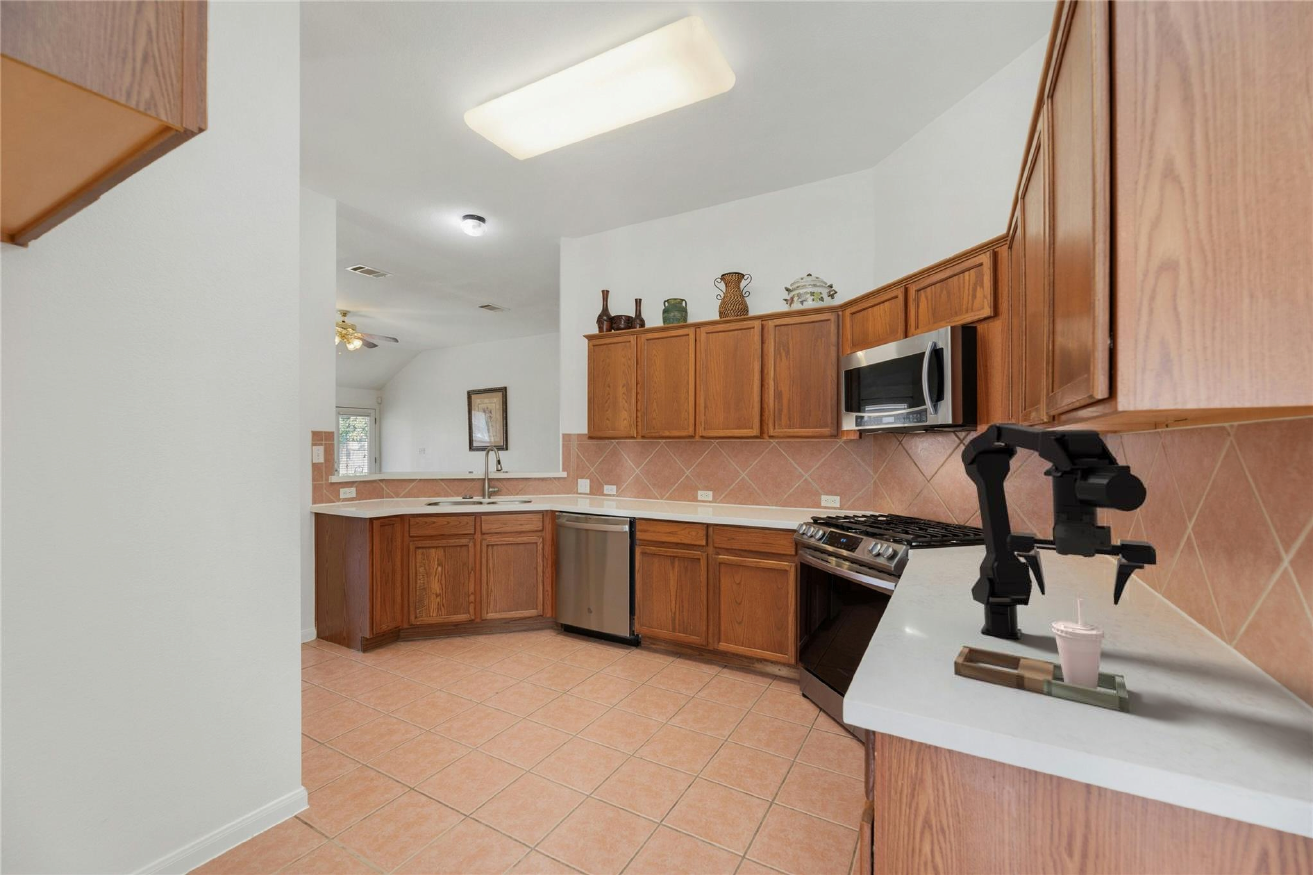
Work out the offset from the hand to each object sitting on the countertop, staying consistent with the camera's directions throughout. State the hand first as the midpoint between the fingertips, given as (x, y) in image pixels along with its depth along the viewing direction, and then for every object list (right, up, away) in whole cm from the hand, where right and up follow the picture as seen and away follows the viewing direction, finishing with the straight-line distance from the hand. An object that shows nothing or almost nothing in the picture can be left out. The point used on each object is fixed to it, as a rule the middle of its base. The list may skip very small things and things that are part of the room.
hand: (1078, 599), depth 85 cm
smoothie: (-4, -13, -5) cm, 14 cm away
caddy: (-8, -13, -2) cm, 15 cm away
